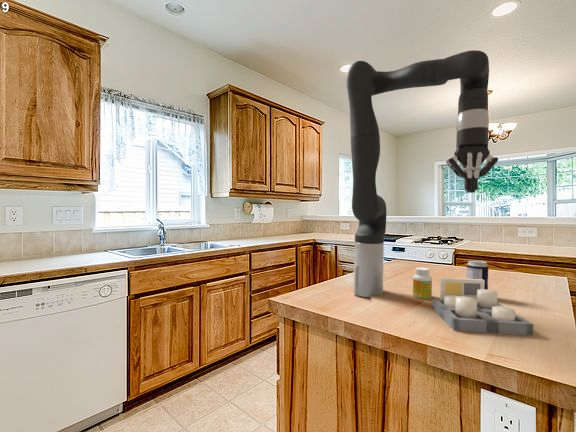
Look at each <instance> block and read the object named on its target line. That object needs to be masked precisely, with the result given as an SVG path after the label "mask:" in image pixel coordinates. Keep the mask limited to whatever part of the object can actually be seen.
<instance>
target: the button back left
mask: <svg viewBox="0 0 576 432" xmlns="http://www.w3.org/2000/svg"><path fill="white" fill-rule="evenodd" d="M456 297H457V296H455V295H445V296H444V305H445V306H446V307H455V302H456Z"/></svg>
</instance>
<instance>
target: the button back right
mask: <svg viewBox="0 0 576 432" xmlns="http://www.w3.org/2000/svg"><path fill="white" fill-rule="evenodd" d="M497 303H498V291H495V290H491V289H488V290H487V289H478V290H477V306H478V307H480V308H483V309H492V307H493V306H497Z"/></svg>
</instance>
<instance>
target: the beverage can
mask: <svg viewBox="0 0 576 432" xmlns="http://www.w3.org/2000/svg"><path fill="white" fill-rule="evenodd" d="M466 279H481V280H485V284H484V289H487V290H489V265H488V263H487V261H483V260H476V259H475V260H473V259H472V260H471V259H470V260H468V262H467V264H466Z"/></svg>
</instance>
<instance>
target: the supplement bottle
mask: <svg viewBox="0 0 576 432" xmlns="http://www.w3.org/2000/svg"><path fill="white" fill-rule="evenodd" d="M414 273H415V274H414V275H413V276H412V297H414V298H417V299H421V300H430V299H432V293H433V291H432V290H433V289H432V287H433V286H432V284H433V283H432V282H433V280H432V276H430V269H429V268H426V267H416V268H415V272H414Z"/></svg>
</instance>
